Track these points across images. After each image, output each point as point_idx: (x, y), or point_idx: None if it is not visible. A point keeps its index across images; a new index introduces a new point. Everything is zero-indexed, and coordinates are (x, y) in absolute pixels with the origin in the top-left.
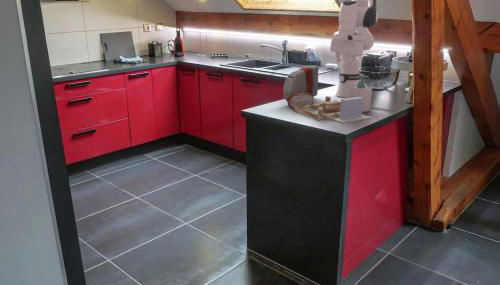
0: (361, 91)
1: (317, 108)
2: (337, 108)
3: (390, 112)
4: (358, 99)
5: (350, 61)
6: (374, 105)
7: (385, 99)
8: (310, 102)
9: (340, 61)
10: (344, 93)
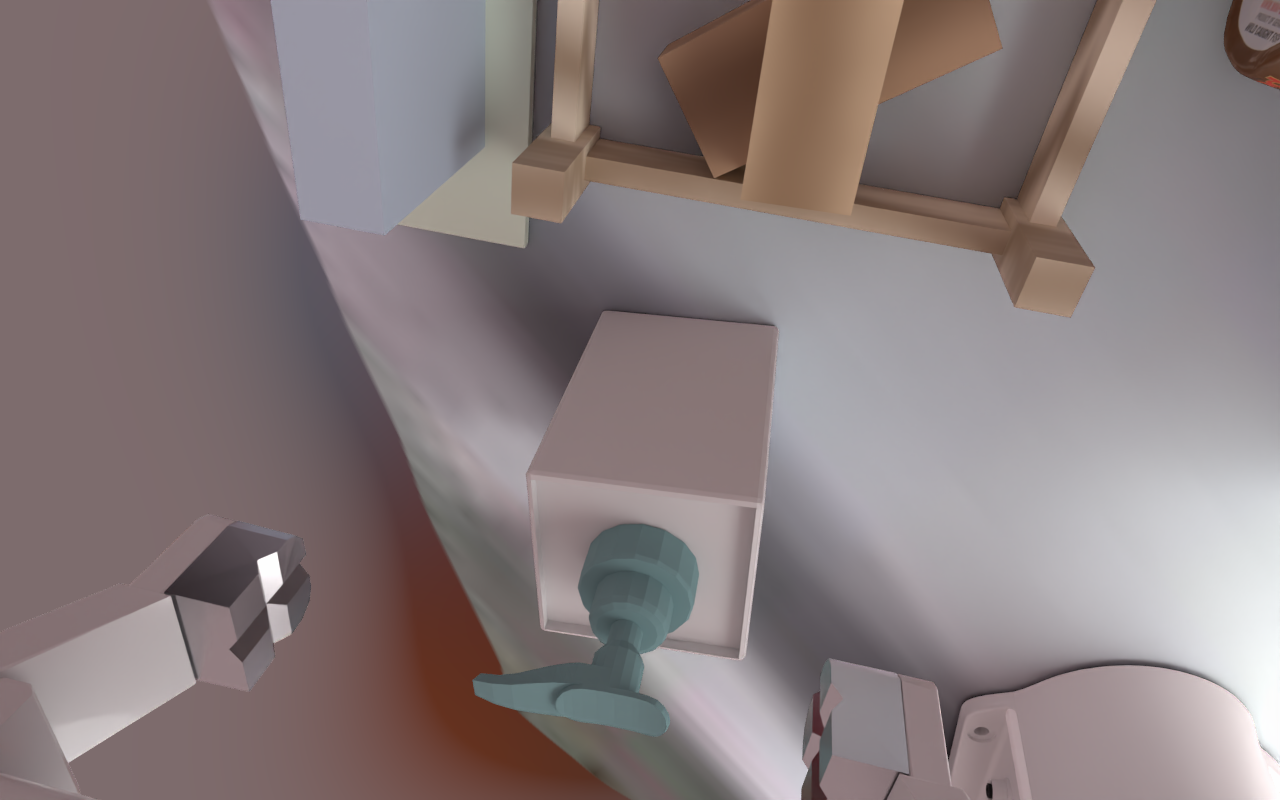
0: (539, 451)
1: (1086, 33)
2: (739, 102)
3: (471, 513)
4: (295, 120)
5: (183, 584)
6: None
7: (778, 788)
8: (1265, 4)
9: (808, 714)
10: (1117, 708)
